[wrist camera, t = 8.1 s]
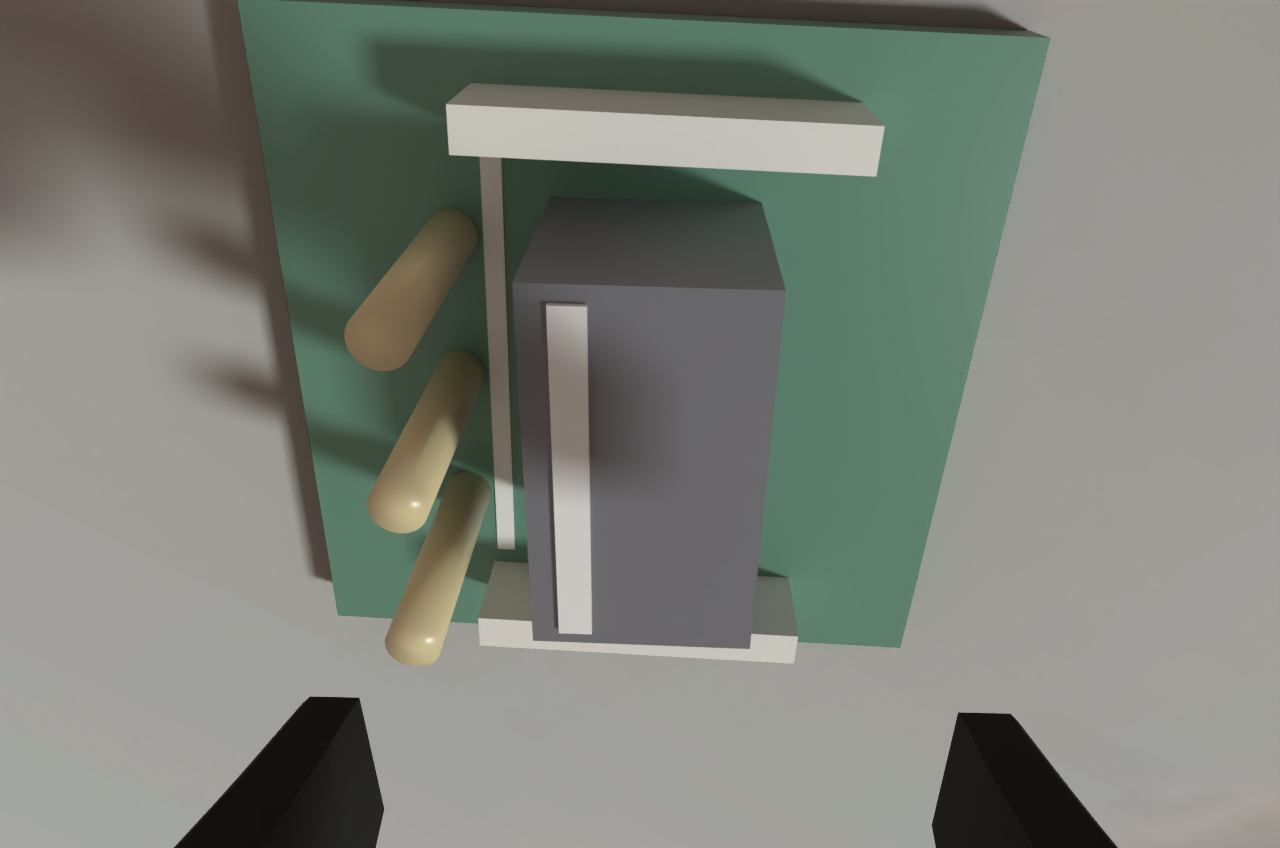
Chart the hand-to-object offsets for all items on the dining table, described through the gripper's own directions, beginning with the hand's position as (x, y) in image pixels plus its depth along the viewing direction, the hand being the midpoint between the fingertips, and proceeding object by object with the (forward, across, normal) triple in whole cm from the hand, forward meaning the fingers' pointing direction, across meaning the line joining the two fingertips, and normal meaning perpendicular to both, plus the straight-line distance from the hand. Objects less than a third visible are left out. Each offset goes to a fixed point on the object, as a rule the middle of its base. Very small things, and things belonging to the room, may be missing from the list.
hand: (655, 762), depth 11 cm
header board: (+10, +1, 0) cm, 10 cm away
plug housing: (+9, 0, -1) cm, 9 cm away
